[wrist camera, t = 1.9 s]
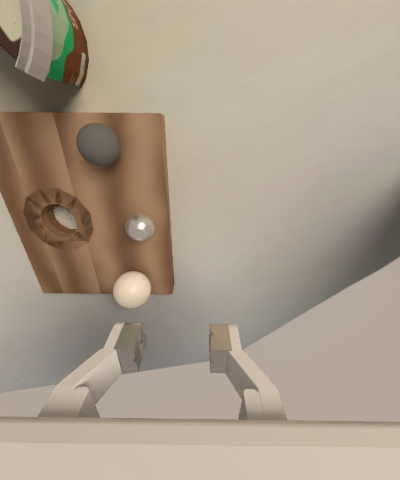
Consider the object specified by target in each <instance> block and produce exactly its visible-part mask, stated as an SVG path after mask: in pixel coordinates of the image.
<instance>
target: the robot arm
mask: <svg viewBox="0 0 400 480" xmlns="http://www.w3.org/2000/svg"><path fill="white" fill-rule="evenodd" d="M143 331H144V324H143V323H115V325H114V326H113V328H112V330H111V333H110V335H109V337H108V339H107V341H106V343H105V345H104V347H103V349H100V350H98V351H97V352H96V353H95V354H93V355H92V356H91V357H90V358H89V359H87V360H86V361H85V362H84V363H83V364H81V365H80V366H79V367H78V368H77V369H75V370H74V371H73V372H72V373H70V374H69V375H68V376H67V377H66V378H64V379H63V380H62V381H61V382H60V383H58V384H57V385H56V386H55V388H54V390H53V392H52V393H51V395H50V396H49V398H48V400H47V402H46V403H45V405H44V407H43V408H42V410H41V412H40V414H39V415H38V417H0V480H400V422H364V421H363V422H362V421H357V422H356V421H288V420H287V417H286V414H285V411H284V408H283V405H282V401H281V398H280V394H279V391H278V388H277V387H276V386H275V385H274V384H273V383H272V382H271V381H270V379H269V378H268V377H267V376H266V375H265V374H264V373H263V371H262V370H261V369H260V368H259V367H258V366H257V364H256V363H255V362H254V361H253V360H252V359H251V358H250V356H249V355H248V354H247V353H246V352H245V351H242V348H241V343H240V337H239V332H238V327H237V325H236V324H210V334H209V352H210V372H211V373H226V375H227V376H228V378H229V379H230V381H231V383H232V384H233V386H234V388H235V389H236V391H237V392H238V394H239V396H240V397H241V399H242V403H241V408H240V414H239V420H215V419H214V420H213V419H212V420H211V419H144V418H143V419H142V418H136V419H135V418H100V416H99V414H98V411H97V409H96V406H95V404H96V403H97V402H98V401H99V399H100V398H101V397H102V396H103V395H104V394H105V392H106V391H107V390H108V389H109V388H110V386H111V385H112V384H113V383H114V382H115V381H116V379H117V378H118V377H119V376H120V375H121V374H122V372H138V370H139V367H140V363H141V354H142V353H143V352H144V348H145V342H146V335H145V333H144V332H143Z"/></svg>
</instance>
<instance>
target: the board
mask: <svg viewBox="0 0 400 480" xmlns="http://www.w3.org/2000/svg"><path fill="white" fill-rule="evenodd" d="M89 123H100V124H103V125H105V126H107V127H109V128H110V129H111V130H112V131H113V132H114V133H115V134H116V136H117V137H118V139H119V142H120V147H121V151H120V155H119V158H118V159H117V160H116V162H114V163H113V164H111V165H109V166H105V167H100V166H95V165H93V164H91V163H89V162H88V161H86V160H85V159H84V158H83V157H82V156H81V154H80V152H79V151H78V148H77V144H76V138H77V134H78V132H79V130H80V129H81V128H82V127H83V126H84V125H86V124H89ZM0 192H1V194H2V196H3V199H4V201H5V204H6V206H7V208H8V211H9V213H10V215H11V218H12V220H13V222H14V225H15V227H16V229H17V232H18V234H19V236H20V239H21V241H22V243H23V246H24V248H25V250H26V253H27V255H28V257H29V260H30V262H31V264H32V267H33V269H34V271H35V274H36V276H37V279H38V281H39V283H40V286H41V288H42V290H43V293H100V294H113V287H114V284H115V282H116V280H117V279H118V278H119V277H120V276H121V275H122V274H124V273H126V272H129V271H138V272H141V273H143V274H144V275H145V276H146V277H147V278H148V279H149V281H150V283H151V293H150V294H172V293H173V288H174V273H173V256H172V240H171V223H170V206H169V190H168V173H167V157H166V140H165V123H164V115H162V114H160V113H63V112H0ZM54 204H59V205H61V206H63V207H65V208H67V209H69V210H70V211H71V213H72V214H73V215H74V216H75V218H76V221H77V225H78V226H77V229H69V228H67V227H64V226H62V225H61V224H60V223H59V222H58V221H57V220H56V218H55V215H54V212H53V208H54ZM135 213H145V214H147V215H149V216H150V217H151V218H152V219H153V220H154V223H155V232H154V234H153V236H152V237H151V238H150V239H148V240H146V241H142V242H139V241H135V240H133V239H131V238H130V237H129V236H128V235H127V233H126V229H125V224H126V221H127V219H128V218H129V217H130V216H131V215H133V214H135Z"/></svg>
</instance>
